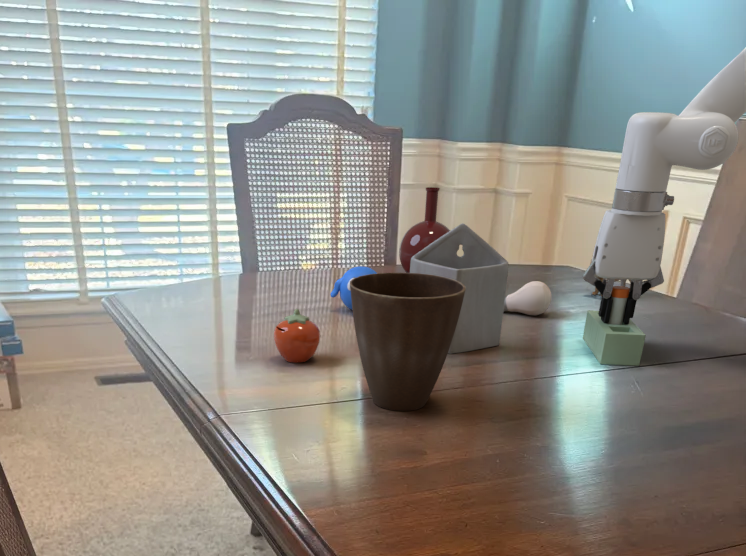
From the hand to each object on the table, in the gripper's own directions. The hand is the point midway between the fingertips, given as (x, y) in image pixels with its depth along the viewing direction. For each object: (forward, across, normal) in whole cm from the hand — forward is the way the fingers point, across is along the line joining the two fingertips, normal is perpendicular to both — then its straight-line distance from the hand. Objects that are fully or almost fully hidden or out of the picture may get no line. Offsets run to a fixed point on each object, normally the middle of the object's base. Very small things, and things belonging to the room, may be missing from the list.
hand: (614, 320), depth 129 cm
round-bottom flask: (+5, +31, -53) cm, 62 cm away
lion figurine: (+5, -10, -46) cm, 47 cm away
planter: (+5, +27, +2) cm, 28 cm away
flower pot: (+5, +35, +31) cm, 47 cm away
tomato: (+6, +52, +13) cm, 54 cm away
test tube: (+5, 0, 0) cm, 5 cm away
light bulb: (+5, +12, -25) cm, 28 cm away
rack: (+5, 0, 0) cm, 5 cm away
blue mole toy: (+6, +44, -20) cm, 49 cm away
